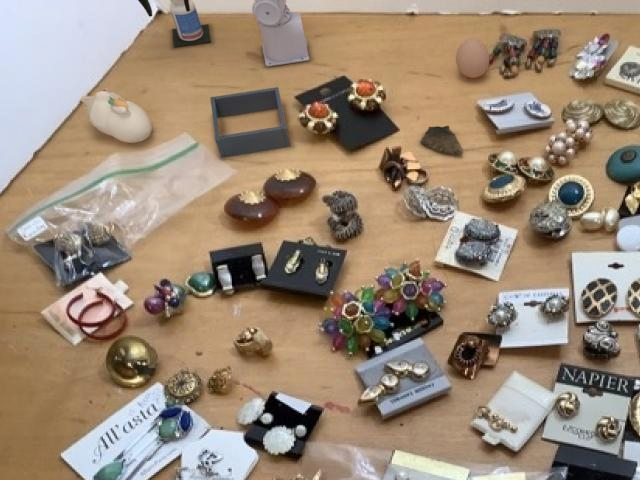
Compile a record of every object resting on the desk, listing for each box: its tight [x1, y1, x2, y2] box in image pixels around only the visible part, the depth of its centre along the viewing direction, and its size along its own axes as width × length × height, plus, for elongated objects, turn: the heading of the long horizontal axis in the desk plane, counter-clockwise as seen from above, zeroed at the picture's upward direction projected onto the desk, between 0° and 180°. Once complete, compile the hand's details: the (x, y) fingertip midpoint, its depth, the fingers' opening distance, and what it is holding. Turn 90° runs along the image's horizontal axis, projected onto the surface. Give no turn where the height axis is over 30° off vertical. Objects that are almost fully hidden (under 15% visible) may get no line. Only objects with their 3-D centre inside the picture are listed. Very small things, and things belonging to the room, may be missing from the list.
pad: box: [171, 23, 212, 48], centre depth 183 cm, size 8×7×1 cm
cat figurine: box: [80, 87, 153, 144], centre depth 160 cm, size 10×8×15 cm
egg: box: [455, 37, 490, 79], centre depth 173 cm, size 7×7×8 cm
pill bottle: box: [168, 0, 203, 41], centre depth 179 cm, size 6×5×10 cm
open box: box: [209, 86, 291, 159], centre depth 162 cm, size 14×14×4 cm
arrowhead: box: [419, 125, 464, 155], centre depth 162 cm, size 7×10×1 cm
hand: (169, 11), depth 170 cm, fingers open, 7 cm apart
